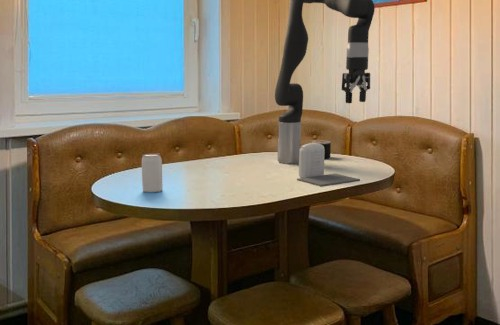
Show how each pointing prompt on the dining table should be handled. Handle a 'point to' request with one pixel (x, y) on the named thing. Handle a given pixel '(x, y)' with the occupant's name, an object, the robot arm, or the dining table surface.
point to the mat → (328, 179)
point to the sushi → (326, 146)
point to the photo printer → (311, 160)
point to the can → (152, 172)
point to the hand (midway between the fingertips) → (355, 102)
